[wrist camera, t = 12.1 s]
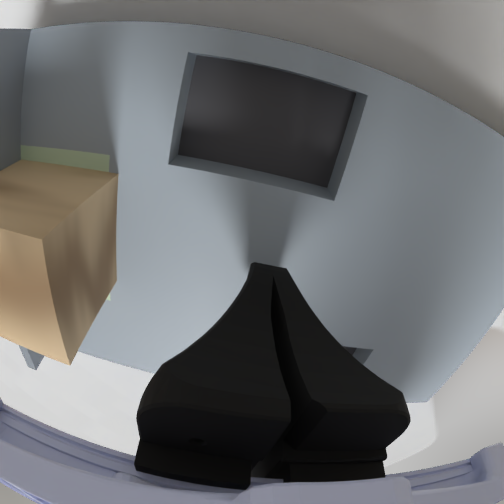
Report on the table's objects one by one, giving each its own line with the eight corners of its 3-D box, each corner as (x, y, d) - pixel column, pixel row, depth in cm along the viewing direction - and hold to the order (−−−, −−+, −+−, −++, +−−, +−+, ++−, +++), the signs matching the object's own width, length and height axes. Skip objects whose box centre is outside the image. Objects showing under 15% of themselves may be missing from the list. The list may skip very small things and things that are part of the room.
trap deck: (420, 385, 20) (435, 428, 16) (55, 322, 17) (28, 366, 14) (547, 174, 11) (594, 205, 7) (43, 32, 9) (-19, 31, 5)
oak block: (117, 280, 13) (70, 365, 9) (31, 257, 13) (-26, 322, 9) (118, 173, 11) (42, 239, 6) (21, 159, 10) (-62, 209, 6)
